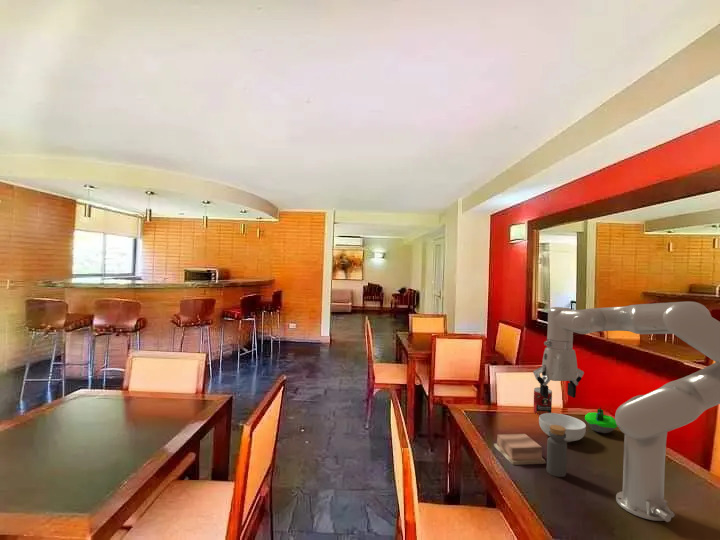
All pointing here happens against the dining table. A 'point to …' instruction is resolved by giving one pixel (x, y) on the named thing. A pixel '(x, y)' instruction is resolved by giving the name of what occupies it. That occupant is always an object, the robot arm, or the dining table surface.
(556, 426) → the bottle
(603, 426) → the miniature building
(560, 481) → the dining table surface
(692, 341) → the robot arm
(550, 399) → the canned food
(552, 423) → the cereal bowl
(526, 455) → the pedestal
